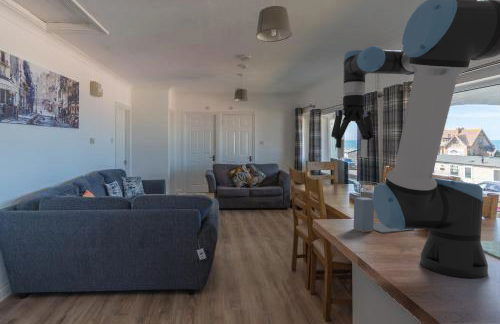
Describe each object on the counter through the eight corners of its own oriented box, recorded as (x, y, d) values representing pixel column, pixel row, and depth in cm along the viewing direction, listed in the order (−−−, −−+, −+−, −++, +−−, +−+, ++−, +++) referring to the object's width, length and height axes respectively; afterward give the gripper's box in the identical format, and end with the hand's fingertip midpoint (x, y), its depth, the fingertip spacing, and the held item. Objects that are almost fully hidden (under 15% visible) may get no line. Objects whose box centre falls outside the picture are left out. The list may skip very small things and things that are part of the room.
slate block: (362, 232, 121) (362, 199, 121) (353, 228, 126) (354, 197, 125) (373, 231, 123) (374, 199, 122) (364, 227, 128) (365, 197, 127)
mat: (382, 233, 120) (382, 232, 120) (360, 225, 131) (360, 224, 131) (414, 230, 125) (414, 229, 125) (390, 222, 136) (391, 221, 136)
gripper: (371, 98, 126) (370, 156, 127) (321, 95, 119) (320, 157, 120) (386, 95, 119) (384, 157, 120) (333, 92, 112) (332, 157, 113)
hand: (352, 157), depth 120 cm, fingers open, 9 cm apart
